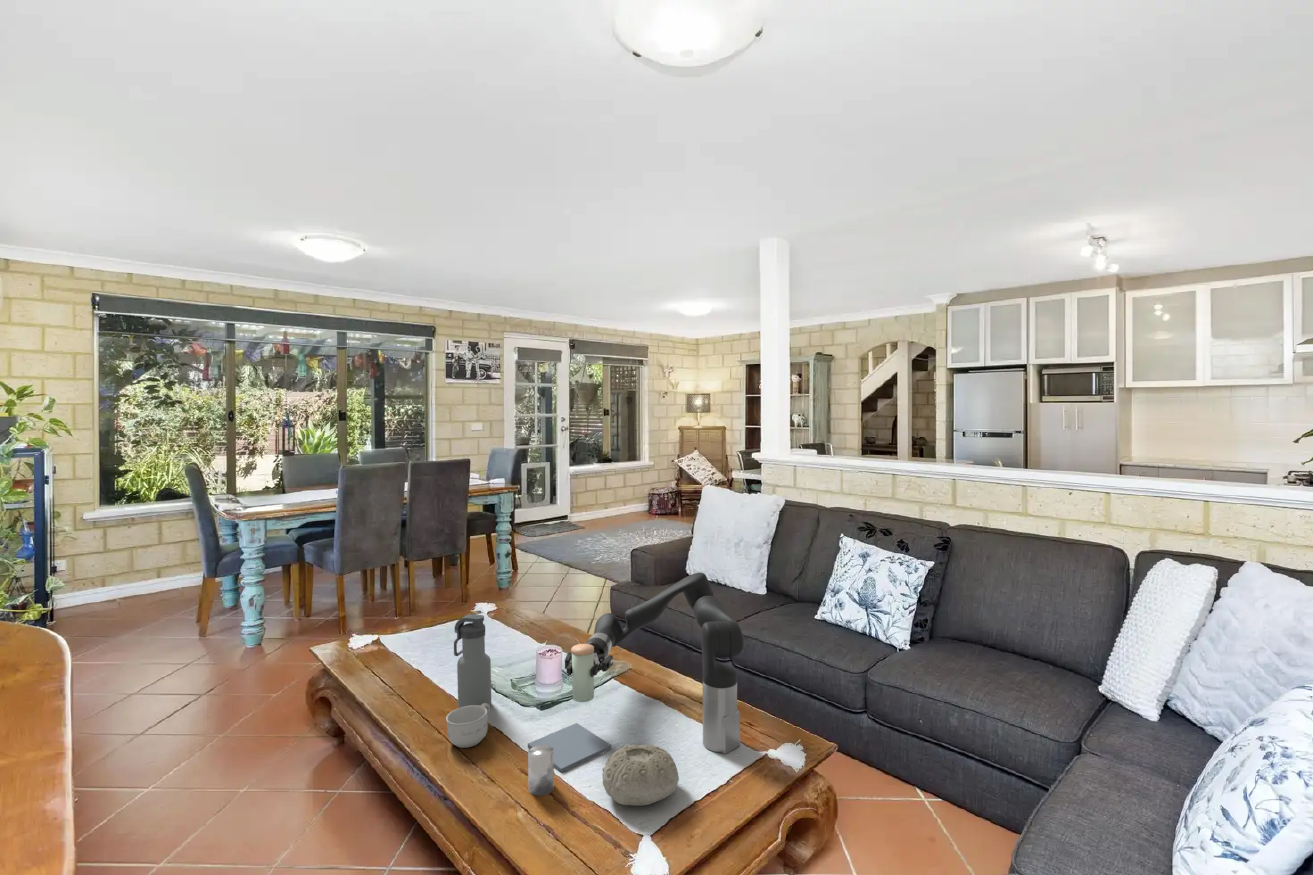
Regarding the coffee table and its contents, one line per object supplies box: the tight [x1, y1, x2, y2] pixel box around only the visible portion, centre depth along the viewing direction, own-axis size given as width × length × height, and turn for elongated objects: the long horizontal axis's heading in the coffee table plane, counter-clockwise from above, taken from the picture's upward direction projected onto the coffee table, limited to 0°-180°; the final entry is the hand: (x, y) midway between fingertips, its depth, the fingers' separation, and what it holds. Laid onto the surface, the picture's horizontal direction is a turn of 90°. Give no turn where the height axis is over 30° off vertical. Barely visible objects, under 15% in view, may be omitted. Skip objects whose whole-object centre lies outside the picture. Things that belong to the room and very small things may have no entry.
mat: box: [527, 722, 612, 773], centre depth 168 cm, size 16×16×1 cm
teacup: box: [445, 703, 491, 749], centre depth 172 cm, size 14×11×8 cm
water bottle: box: [453, 613, 492, 709], centre depth 190 cm, size 10×10×28 cm
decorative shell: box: [602, 743, 680, 806], centre depth 148 cm, size 18×18×10 cm
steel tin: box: [527, 745, 555, 797], centre depth 150 cm, size 6×6×9 cm
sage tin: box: [570, 643, 595, 703], centre depth 176 cm, size 6×6×14 cm
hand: (580, 672), depth 173 cm, fingers closed on sage tin, 6 cm apart
